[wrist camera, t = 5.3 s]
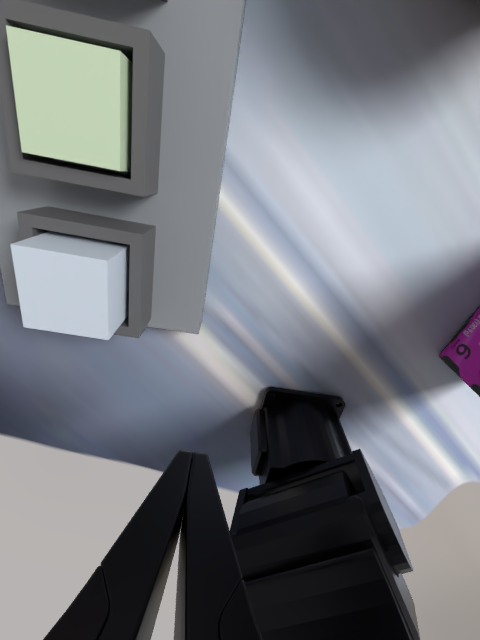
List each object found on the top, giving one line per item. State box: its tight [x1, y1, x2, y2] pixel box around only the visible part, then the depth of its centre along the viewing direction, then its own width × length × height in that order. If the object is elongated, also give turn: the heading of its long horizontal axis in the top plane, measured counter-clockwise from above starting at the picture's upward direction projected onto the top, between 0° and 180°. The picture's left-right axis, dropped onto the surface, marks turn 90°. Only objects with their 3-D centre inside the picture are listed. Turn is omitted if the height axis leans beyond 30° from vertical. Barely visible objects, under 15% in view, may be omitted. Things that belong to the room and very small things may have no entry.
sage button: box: [6, 25, 133, 171], centre depth 13 cm, size 4×4×3 cm
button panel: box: [0, 0, 246, 338], centre depth 14 cm, size 12×22×4 cm, turn 170°
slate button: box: [10, 231, 130, 340], centre depth 15 cm, size 4×4×3 cm
